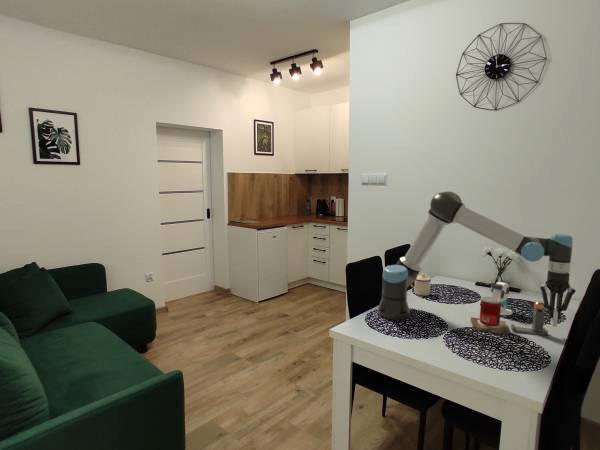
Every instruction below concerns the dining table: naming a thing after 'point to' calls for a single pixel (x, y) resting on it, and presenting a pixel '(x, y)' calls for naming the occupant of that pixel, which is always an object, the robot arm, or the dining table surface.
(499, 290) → the panda figurine
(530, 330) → the lever rail
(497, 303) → the canned food
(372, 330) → the dining table surface
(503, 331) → the plate
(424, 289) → the teacup with lid
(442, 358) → the dining table surface
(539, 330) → the press lever
